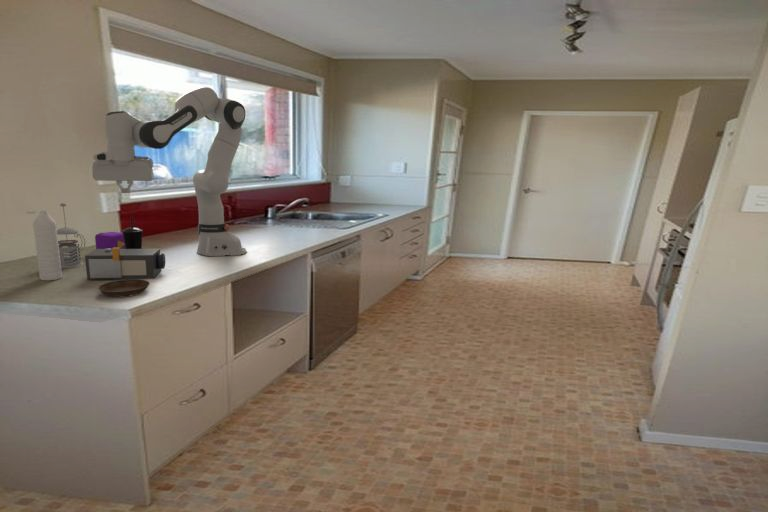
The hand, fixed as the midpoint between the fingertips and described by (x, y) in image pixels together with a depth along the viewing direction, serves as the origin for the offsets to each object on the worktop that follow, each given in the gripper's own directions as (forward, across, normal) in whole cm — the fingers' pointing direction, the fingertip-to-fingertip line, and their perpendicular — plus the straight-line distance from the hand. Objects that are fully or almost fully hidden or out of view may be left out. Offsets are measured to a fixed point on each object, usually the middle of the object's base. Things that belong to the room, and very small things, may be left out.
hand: (125, 192), depth 169 cm
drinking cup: (+31, +3, -13) cm, 34 cm away
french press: (+30, +25, -10) cm, 40 cm away
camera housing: (+30, 0, +9) cm, 32 cm away
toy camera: (+31, +16, -31) cm, 47 cm away
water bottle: (+30, +24, +12) cm, 41 cm away
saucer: (+31, -5, +31) cm, 44 cm away
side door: (+29, +5, +16) cm, 33 cm away
